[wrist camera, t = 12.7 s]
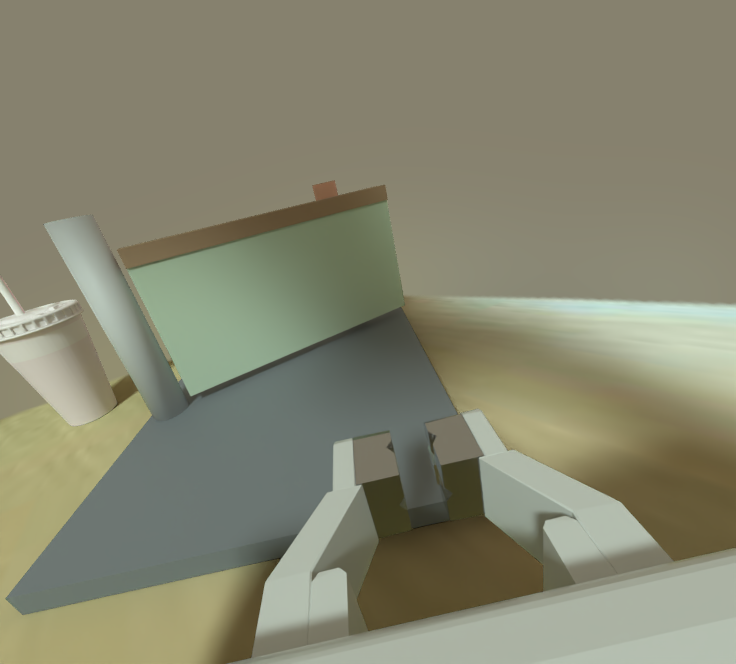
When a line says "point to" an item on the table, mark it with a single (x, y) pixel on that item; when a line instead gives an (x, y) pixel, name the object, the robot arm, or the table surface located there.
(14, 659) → the table surface
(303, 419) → the board
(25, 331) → the smoothie
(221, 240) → the panel
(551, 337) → the table surface
